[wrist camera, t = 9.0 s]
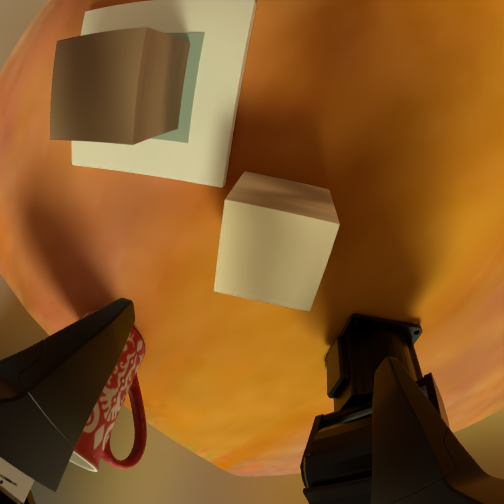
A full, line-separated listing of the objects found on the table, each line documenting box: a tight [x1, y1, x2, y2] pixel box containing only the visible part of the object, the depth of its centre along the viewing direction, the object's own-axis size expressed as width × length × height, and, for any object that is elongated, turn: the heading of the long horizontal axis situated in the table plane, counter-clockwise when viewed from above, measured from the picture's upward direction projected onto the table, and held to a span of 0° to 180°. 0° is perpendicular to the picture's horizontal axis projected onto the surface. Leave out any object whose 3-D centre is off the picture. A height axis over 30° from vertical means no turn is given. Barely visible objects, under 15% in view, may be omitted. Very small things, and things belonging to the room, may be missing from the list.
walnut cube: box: [50, 27, 190, 145], centre depth 12 cm, size 5×5×5 cm
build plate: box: [72, 0, 257, 188], centre depth 14 cm, size 11×11×1 cm
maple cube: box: [214, 171, 340, 312], centre depth 16 cm, size 5×5×5 cm
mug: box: [69, 309, 147, 472], centre depth 21 cm, size 13×9×14 cm
